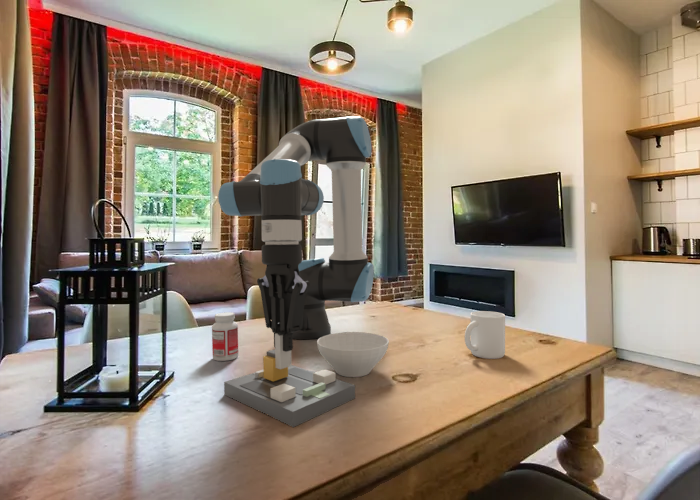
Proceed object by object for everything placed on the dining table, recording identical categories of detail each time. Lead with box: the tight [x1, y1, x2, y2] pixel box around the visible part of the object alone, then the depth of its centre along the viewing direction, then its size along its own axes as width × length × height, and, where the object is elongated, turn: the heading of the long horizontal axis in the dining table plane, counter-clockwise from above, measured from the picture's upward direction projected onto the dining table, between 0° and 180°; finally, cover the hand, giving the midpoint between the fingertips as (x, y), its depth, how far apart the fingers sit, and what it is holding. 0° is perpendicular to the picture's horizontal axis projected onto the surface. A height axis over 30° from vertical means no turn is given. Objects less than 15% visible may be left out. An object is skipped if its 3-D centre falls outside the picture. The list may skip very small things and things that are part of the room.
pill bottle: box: [211, 311, 239, 362], centre depth 100 cm, size 6×6×11 cm
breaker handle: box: [262, 348, 288, 382], centre depth 78 cm, size 3×4×5 cm
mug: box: [464, 310, 506, 360], centre depth 100 cm, size 12×8×10 cm
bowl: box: [316, 331, 390, 378], centre depth 89 cm, size 16×16×7 cm
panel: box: [223, 365, 356, 428], centre depth 75 cm, size 20×15×4 cm
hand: (283, 366), depth 76 cm, fingers closed
